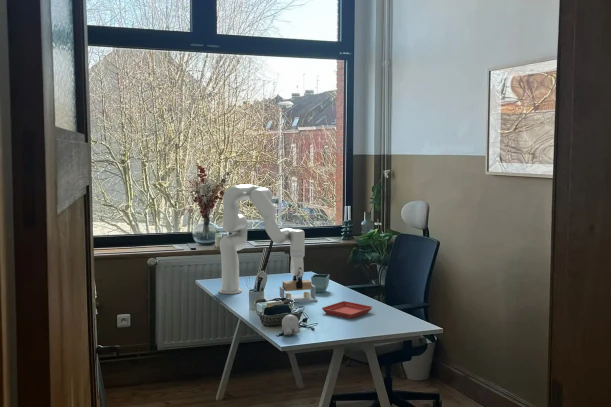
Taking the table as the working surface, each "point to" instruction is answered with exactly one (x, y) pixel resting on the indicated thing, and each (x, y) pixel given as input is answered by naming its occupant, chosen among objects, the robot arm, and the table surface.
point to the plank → (292, 285)
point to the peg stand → (300, 298)
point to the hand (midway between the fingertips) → (297, 287)
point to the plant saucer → (346, 309)
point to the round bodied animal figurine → (290, 325)
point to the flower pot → (320, 282)
